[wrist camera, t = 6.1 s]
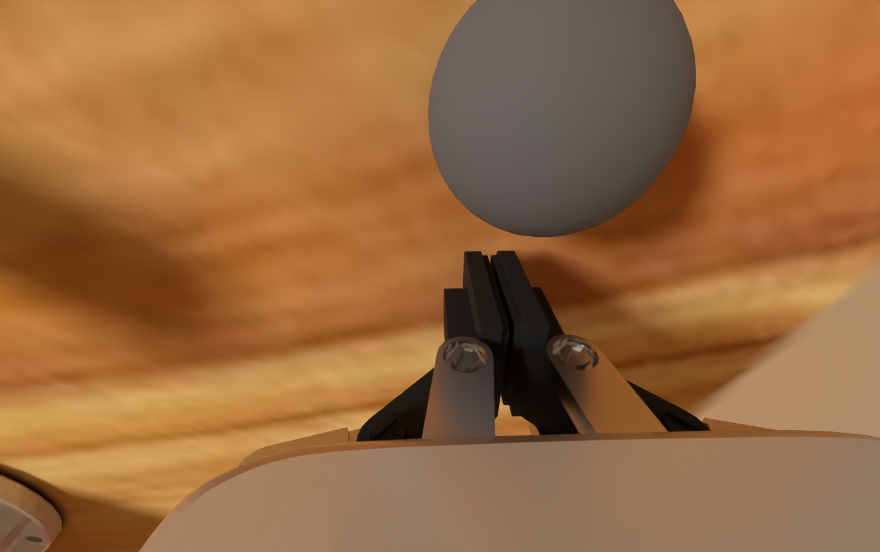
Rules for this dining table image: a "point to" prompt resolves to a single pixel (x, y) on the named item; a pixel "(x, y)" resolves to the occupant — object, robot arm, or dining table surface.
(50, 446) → the dining table surface
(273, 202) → the dining table surface
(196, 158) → the dining table surface
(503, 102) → the dark gray ball
